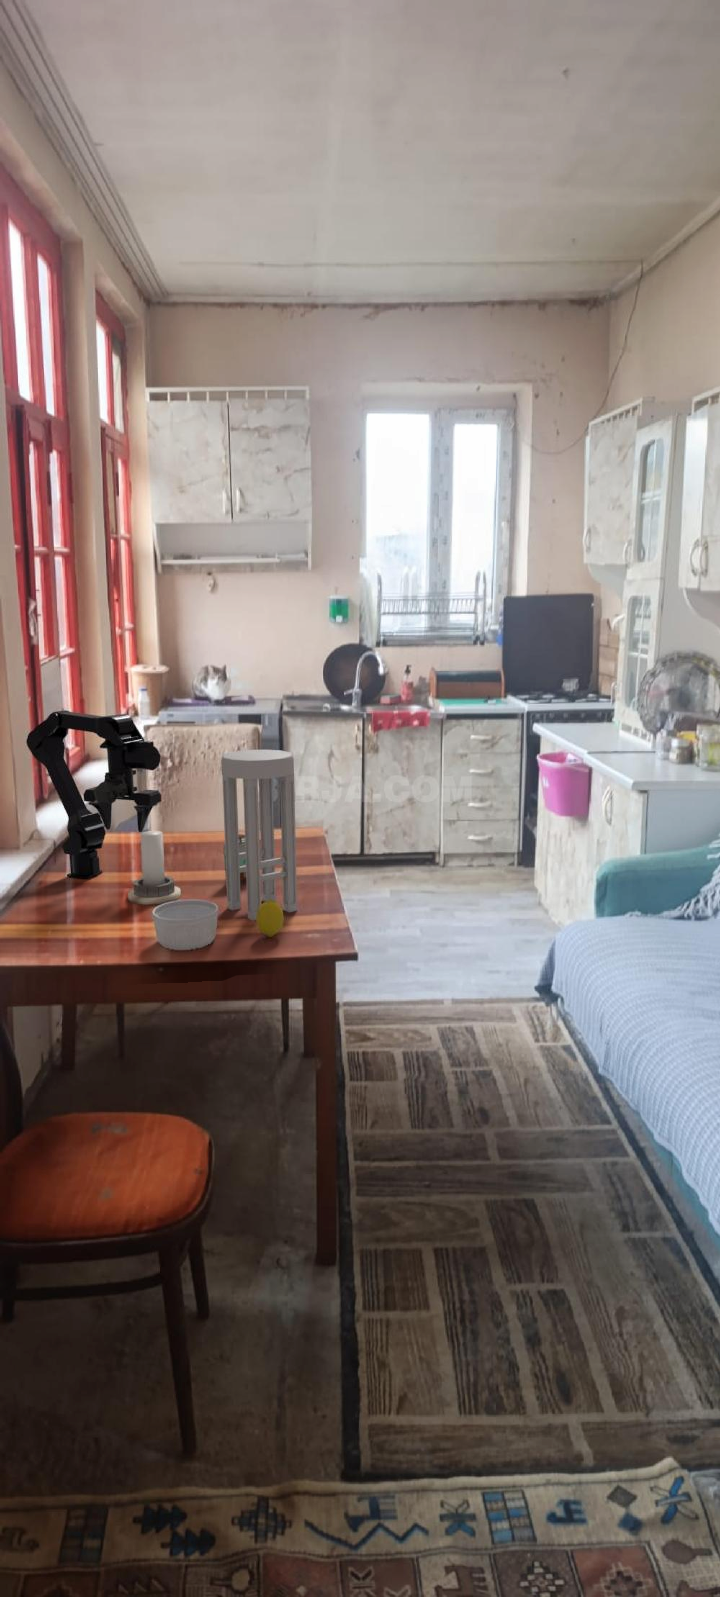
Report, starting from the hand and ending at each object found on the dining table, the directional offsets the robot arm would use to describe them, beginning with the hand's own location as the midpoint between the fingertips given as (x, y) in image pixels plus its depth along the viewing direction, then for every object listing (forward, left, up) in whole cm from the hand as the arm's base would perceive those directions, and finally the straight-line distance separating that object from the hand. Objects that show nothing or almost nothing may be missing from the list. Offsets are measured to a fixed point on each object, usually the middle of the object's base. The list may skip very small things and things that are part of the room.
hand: (124, 830), depth 241 cm
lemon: (+51, -24, -13) cm, 58 cm away
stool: (+41, -8, -13) cm, 44 cm away
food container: (+26, +12, -13) cm, 32 cm away
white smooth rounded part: (+13, -8, -12) cm, 19 cm away
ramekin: (+36, -32, -13) cm, 50 cm away
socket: (+13, -8, -13) cm, 20 cm away
